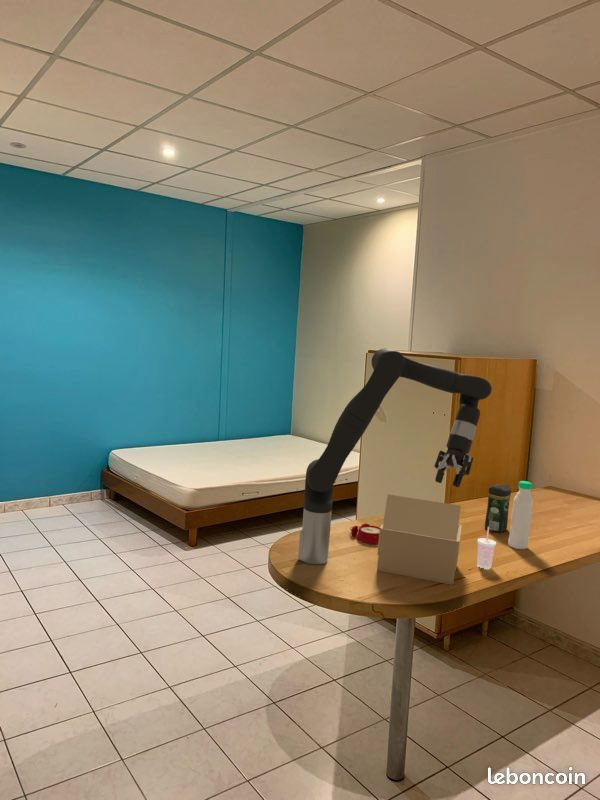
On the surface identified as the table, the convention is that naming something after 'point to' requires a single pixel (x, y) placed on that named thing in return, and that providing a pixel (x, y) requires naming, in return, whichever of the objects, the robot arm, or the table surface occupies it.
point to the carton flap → (422, 517)
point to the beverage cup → (485, 552)
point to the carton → (418, 555)
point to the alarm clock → (366, 533)
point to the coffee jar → (498, 507)
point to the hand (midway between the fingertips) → (446, 484)
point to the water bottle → (521, 517)
